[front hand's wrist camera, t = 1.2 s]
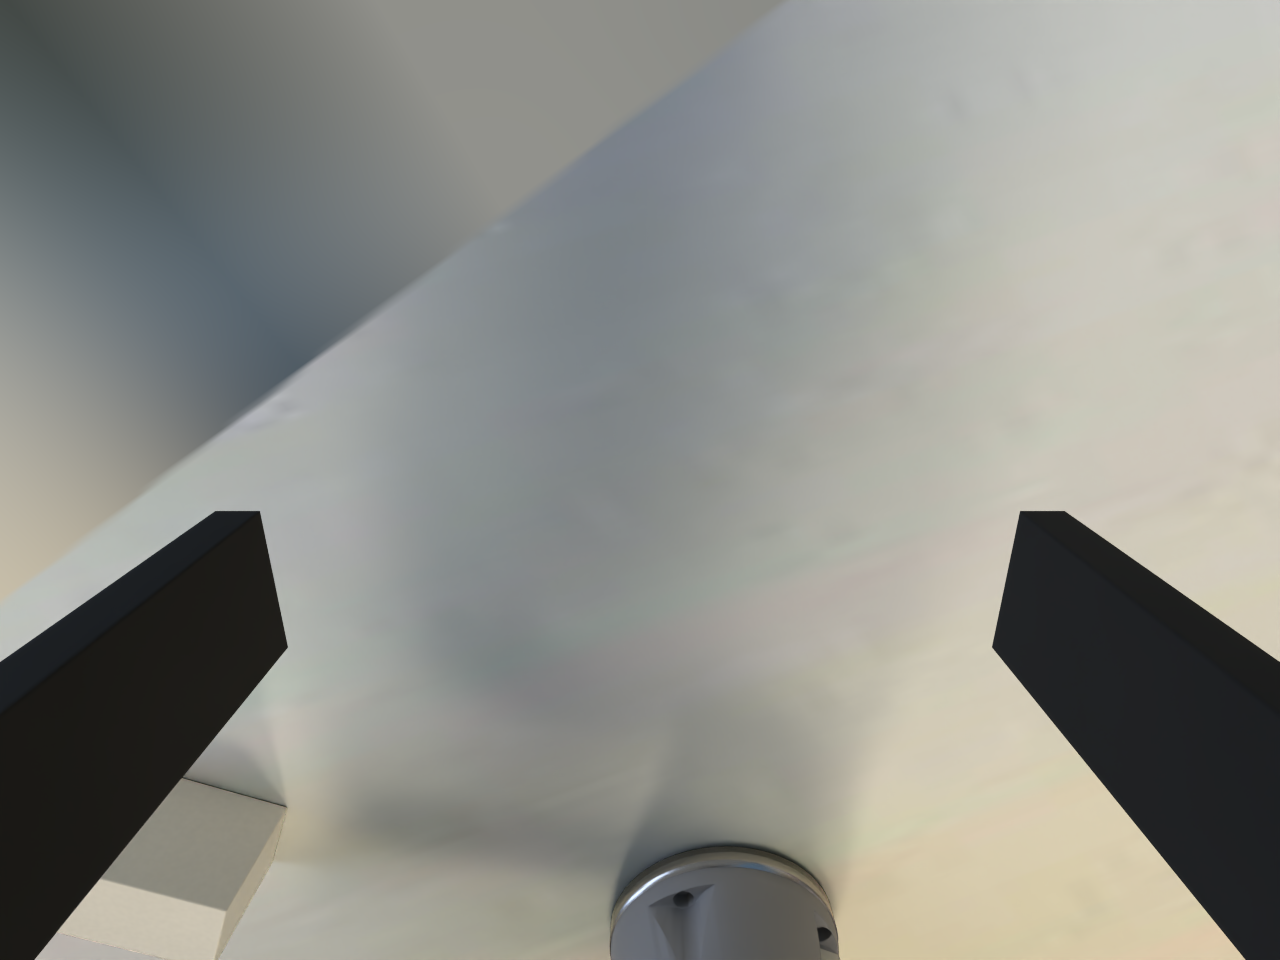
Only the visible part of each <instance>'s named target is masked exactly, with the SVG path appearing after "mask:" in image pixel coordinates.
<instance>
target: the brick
mask: <svg viewBox="0 0 1280 960" xmlns="http://www.w3.org/2000/svg"><path fill="white" fill-rule="evenodd" d="M286 811H287V808H286V807H283V806H280V805H276V804H272V803H269V802H265V801H262V800H258V799H255V798H251V797H247V796H244V795H240V794H237V793H233V792H230V791H226V790H223V789H219V788H215V787H212V786H208V785H205V784H201V783H198V782H194V781H190V780H187V779H183V778H181V780H180V781H179V782H178V783H177V785H176V786H175V787H174V788H173V789H172V791H171V792H170V793H169V794H168V796H167V797H166V798H165V799H164V801H163V802H162V803H161V804H160V805H159V807H158V808H157V809H156V810H155V812H154V813H153V814H152V815H151V817H150V818H149V819H148V820H147V821H146V823H145V824H144V825H143V826H142V828H141V829H140V830H139V831H138V833H137V834H136V835H135V836H134V838H133V839H132V840H131V841H130V842H129V844H128V845H127V846H126V847H125V849H124V850H123V851H122V852H121V854H120V855H119V856H118V857H117V858H116V860H115V861H114V862H113V863H112V865H111V866H110V867H109V868H108V870H107V871H106V872H105V873H104V874H103V876H102V877H101V878H100V879H99V881H98V882H97V883H96V884H95V886H94V887H93V888H92V889H91V890H90V892H89V893H88V894H87V895H86V897H85V898H84V899H83V900H82V902H81V903H80V904H79V905H78V907H77V908H76V909H75V910H74V911H73V913H72V914H71V915H70V916H69V918H68V919H67V920H66V921H65V923H64V924H63V925H62V926H61V927H60V929H59V930H58V931H57V933H61V934H65V935H69V936H73V937H77V938H81V939H85V940H89V941H93V942H97V943H101V944H105V945H109V946H113V947H117V948H122V949H126V950H130V951H134V952H138V953H142V954H146V955H150V956H154V957H158V958H162V959H166V960H218V959H219V957H220V955H221V953H222V951H223V950H224V948H225V946H226V944H227V942H228V941H229V939H230V937H231V935H232V934H233V932H234V930H235V928H236V926H237V925H238V923H239V921H240V919H241V918H242V916H243V914H244V912H245V910H246V909H247V907H248V905H249V903H250V901H251V900H252V898H253V896H254V894H255V893H256V891H257V889H258V887H259V885H260V884H261V882H262V880H263V878H264V877H265V875H266V873H267V871H268V869H269V868H270V866H271V864H272V862H273V858H274V854H275V851H276V847H277V843H278V840H279V836H280V832H281V829H282V825H283V822H284V818H285V814H286Z"/></svg>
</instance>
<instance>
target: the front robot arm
mask: <svg viewBox="0 0 1280 960" xmlns="http://www.w3.org/2000/svg"><path fill="white" fill-rule="evenodd" d="M287 648H288V646H287V641H286V636H285V631H284V626H283V621H282V617H281V612H280V607H279V602H278V597H277V592H276V587H275V583H274V578H273V573H272V568H271V563H270V558H269V554H268V549H267V544H266V539H265V534H264V529H263V524H262V520H261V515H260V511H215V512H214V513H212V514H211V515H209V516H208V517H206V518H205V519H204V520H202V521H201V522H199V523H198V524H196V525H195V526H194V527H192V528H191V529H189V530H188V531H186V532H185V533H184V534H182V535H181V536H179V537H178V538H176V539H175V540H174V541H172V542H171V543H169V544H168V545H166V546H165V547H164V548H162V549H161V550H159V551H158V552H156V553H155V554H154V555H152V556H151V557H149V558H148V559H147V560H145V561H144V562H142V563H141V564H139V565H138V566H137V567H135V568H134V569H132V570H131V571H129V572H128V573H127V574H125V575H124V576H122V577H121V578H119V579H118V580H117V581H115V582H114V583H112V584H111V585H109V586H108V587H107V588H105V589H104V590H102V591H101V592H99V593H98V594H97V595H95V596H94V597H92V598H91V599H89V600H88V601H87V602H85V603H84V604H82V605H81V606H80V607H78V608H77V609H75V610H74V611H72V612H71V613H70V614H68V615H67V616H65V617H64V618H62V619H61V620H60V621H58V622H57V623H55V624H54V625H52V626H51V627H50V628H48V629H47V630H45V631H44V632H42V633H41V634H40V635H38V636H37V637H35V638H34V639H32V640H31V641H30V642H28V643H27V644H25V645H24V646H22V647H21V648H20V649H18V650H17V651H15V652H14V653H12V654H11V655H10V656H8V657H7V658H5V659H4V660H3V661H1V662H0V960H34V959H35V958H36V957H37V956H38V955H39V953H40V952H41V951H42V950H43V948H44V947H45V946H46V945H47V943H48V942H49V941H50V940H51V939H52V937H53V936H54V935H55V934H56V932H57V931H58V930H59V929H60V927H61V926H62V925H63V924H64V923H65V921H66V920H67V919H68V918H69V916H70V915H71V914H72V913H73V911H74V910H75V909H76V908H77V907H78V905H79V904H80V903H81V902H82V900H83V899H84V898H85V897H86V895H87V894H88V893H89V892H90V890H91V889H92V888H93V887H94V886H95V884H96V883H97V882H98V881H99V879H100V878H101V877H102V876H103V874H104V873H105V872H106V871H107V870H108V868H109V867H110V866H111V865H112V863H113V862H114V861H115V860H116V858H117V857H118V856H119V855H120V854H121V852H122V851H123V850H124V849H125V847H126V846H127V845H128V844H129V842H130V841H131V840H132V839H133V838H134V836H135V835H136V834H137V833H138V831H139V830H140V829H141V828H142V826H143V825H144V824H145V823H146V821H147V820H148V819H149V818H150V817H151V815H152V814H153V813H154V812H155V810H156V809H157V808H158V807H159V805H160V804H161V803H162V802H163V801H164V799H165V798H166V797H167V796H168V794H169V793H170V792H171V791H172V789H173V788H174V787H175V786H176V785H177V783H178V782H179V781H180V780H181V778H182V777H183V776H184V775H185V773H186V772H187V771H188V770H189V768H190V767H191V766H192V765H193V764H194V762H195V761H196V760H197V759H198V757H199V756H200V755H201V754H202V752H203V751H204V750H205V749H206V748H207V746H208V745H209V744H210V743H211V741H212V740H213V739H214V738H215V736H216V735H217V734H218V733H219V732H220V730H221V729H222V728H223V727H224V725H225V724H226V723H227V722H228V720H229V719H230V718H231V717H232V716H233V714H234V713H235V712H236V711H237V709H238V708H239V707H240V706H241V704H242V703H243V702H244V701H245V699H246V698H247V697H248V696H249V695H250V693H251V692H252V691H253V690H254V688H255V687H256V686H257V685H258V683H259V682H260V681H261V680H262V679H263V677H264V676H265V675H266V674H267V672H268V671H269V670H270V669H271V667H272V666H273V665H274V664H275V663H276V661H277V660H278V659H279V658H280V656H281V655H282V654H283V653H284V651H285V650H286V649H287ZM992 648H993V649H994V650H995V651H996V653H997V654H998V655H999V656H1000V658H1001V659H1002V660H1003V661H1004V663H1005V664H1006V665H1007V666H1008V667H1009V669H1010V670H1011V671H1012V672H1013V674H1014V675H1015V676H1016V677H1017V679H1018V680H1019V681H1020V682H1021V683H1022V685H1023V686H1024V687H1025V688H1026V690H1027V691H1028V692H1029V693H1030V695H1031V696H1032V697H1033V698H1034V699H1035V701H1036V702H1037V703H1038V704H1039V706H1040V707H1041V708H1042V709H1043V711H1044V712H1045V713H1046V714H1047V716H1048V717H1049V718H1050V719H1051V720H1052V722H1053V723H1054V724H1055V725H1056V727H1057V728H1058V729H1059V730H1060V732H1061V733H1062V734H1063V735H1064V736H1065V738H1066V739H1067V740H1068V741H1069V743H1070V744H1071V745H1072V746H1073V748H1074V749H1075V750H1076V751H1077V752H1078V754H1079V755H1080V756H1081V757H1082V759H1083V760H1084V761H1085V762H1086V764H1087V765H1088V766H1089V767H1090V768H1091V770H1092V771H1093V772H1094V773H1095V775H1096V776H1097V777H1098V778H1099V780H1100V781H1101V782H1102V783H1103V785H1104V786H1105V787H1106V788H1107V789H1108V791H1109V792H1110V793H1111V794H1112V796H1113V797H1114V798H1115V799H1116V801H1117V802H1118V803H1119V804H1120V805H1121V807H1122V808H1123V809H1124V810H1125V812H1126V813H1127V814H1128V815H1129V817H1130V818H1131V819H1132V820H1133V821H1134V823H1135V824H1136V825H1137V826H1138V828H1139V829H1140V830H1141V831H1142V833H1143V834H1144V835H1145V836H1146V838H1147V839H1148V840H1149V841H1150V842H1151V844H1152V845H1153V846H1154V847H1155V849H1156V850H1157V851H1158V852H1159V854H1160V855H1161V856H1162V857H1163V858H1164V860H1165V861H1166V862H1167V863H1168V865H1169V866H1170V867H1171V868H1172V870H1173V871H1174V872H1175V873H1176V874H1177V876H1178V877H1179V878H1180V879H1181V881H1182V882H1183V883H1184V884H1185V886H1186V887H1187V888H1188V889H1189V890H1190V892H1191V893H1192V894H1193V895H1194V897H1195V898H1196V899H1197V900H1198V902H1199V903H1200V904H1201V905H1202V907H1203V908H1204V909H1205V910H1206V911H1207V913H1208V914H1209V915H1210V916H1211V918H1212V919H1213V920H1214V921H1215V923H1216V924H1217V925H1218V926H1219V927H1220V929H1221V930H1222V931H1223V932H1224V934H1225V935H1226V936H1227V937H1228V939H1229V940H1230V941H1231V942H1232V943H1233V945H1234V946H1235V947H1236V948H1237V950H1238V951H1239V952H1240V953H1241V955H1242V956H1243V957H1244V958H1245V959H1246V960H1280V662H1279V661H1277V660H1276V659H1275V658H1273V657H1272V656H1270V655H1269V654H1268V653H1266V652H1265V651H1263V650H1262V649H1260V648H1259V647H1258V646H1256V645H1255V644H1253V643H1252V642H1250V641H1249V640H1248V639H1246V638H1245V637H1243V636H1242V635H1240V634H1239V633H1238V632H1236V631H1235V630H1233V629H1232V628H1230V627H1229V626H1228V625H1226V624H1225V623H1223V622H1222V621H1220V620H1219V619H1218V618H1216V617H1215V616H1213V615H1212V614H1210V613H1209V612H1208V611H1206V610H1205V609H1203V608H1202V607H1200V606H1199V605H1198V604H1196V603H1195V602H1193V601H1192V600H1191V599H1189V598H1188V597H1186V596H1185V595H1183V594H1182V593H1181V592H1179V591H1178V590H1176V589H1175V588H1173V587H1172V586H1171V585H1169V584H1168V583H1166V582H1165V581H1163V580H1162V579H1161V578H1159V577H1158V576H1156V575H1155V574H1153V573H1152V572H1151V571H1149V570H1148V569H1146V568H1145V567H1143V566H1142V565H1141V564H1139V563H1138V562H1136V561H1135V560H1133V559H1132V558H1131V557H1129V556H1128V555H1126V554H1125V553H1124V552H1122V551H1121V550H1119V549H1118V548H1116V547H1115V546H1114V545H1112V544H1111V543H1109V542H1108V541H1106V540H1105V539H1104V538H1102V537H1101V536H1099V535H1098V534H1096V533H1095V532H1094V531H1092V530H1091V529H1089V528H1088V527H1086V526H1085V525H1084V524H1082V523H1081V522H1079V521H1078V520H1076V519H1075V518H1074V517H1072V516H1071V515H1069V514H1068V513H1066V512H1065V511H1020V515H1019V520H1018V524H1017V529H1016V534H1015V539H1014V544H1013V549H1012V554H1011V558H1010V563H1009V568H1008V573H1007V578H1006V583H1005V587H1004V592H1003V597H1002V602H1001V607H1000V612H999V617H998V621H997V626H996V631H995V636H994V641H993V646H992ZM610 956H611V960H840V957H839V946H838V933H837V928H836V924H835V921H834V917H833V913H832V910H831V906H830V903H829V900H828V898H827V896H826V894H825V892H824V891H823V889H822V887H821V886H820V885H819V884H818V882H817V881H816V880H815V879H814V878H813V877H812V876H811V875H810V874H809V873H807V872H806V871H805V870H803V869H802V868H801V867H799V866H798V865H796V864H794V863H793V862H791V861H789V860H787V859H785V858H782V857H780V856H777V855H775V854H772V853H768V852H765V851H761V850H756V849H751V848H744V847H708V848H701V849H695V850H691V851H686V852H683V853H680V854H676V855H674V856H671V857H669V858H666V859H664V860H662V861H660V862H658V863H656V864H654V865H652V866H651V867H649V868H647V869H646V870H645V871H643V872H642V873H641V874H639V875H638V876H637V877H636V878H635V879H634V880H632V881H631V883H630V884H629V885H628V886H627V887H626V888H625V889H624V891H623V892H622V894H621V895H620V897H619V899H618V900H617V902H616V905H615V907H614V910H613V914H612V918H611V930H610Z"/></svg>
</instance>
